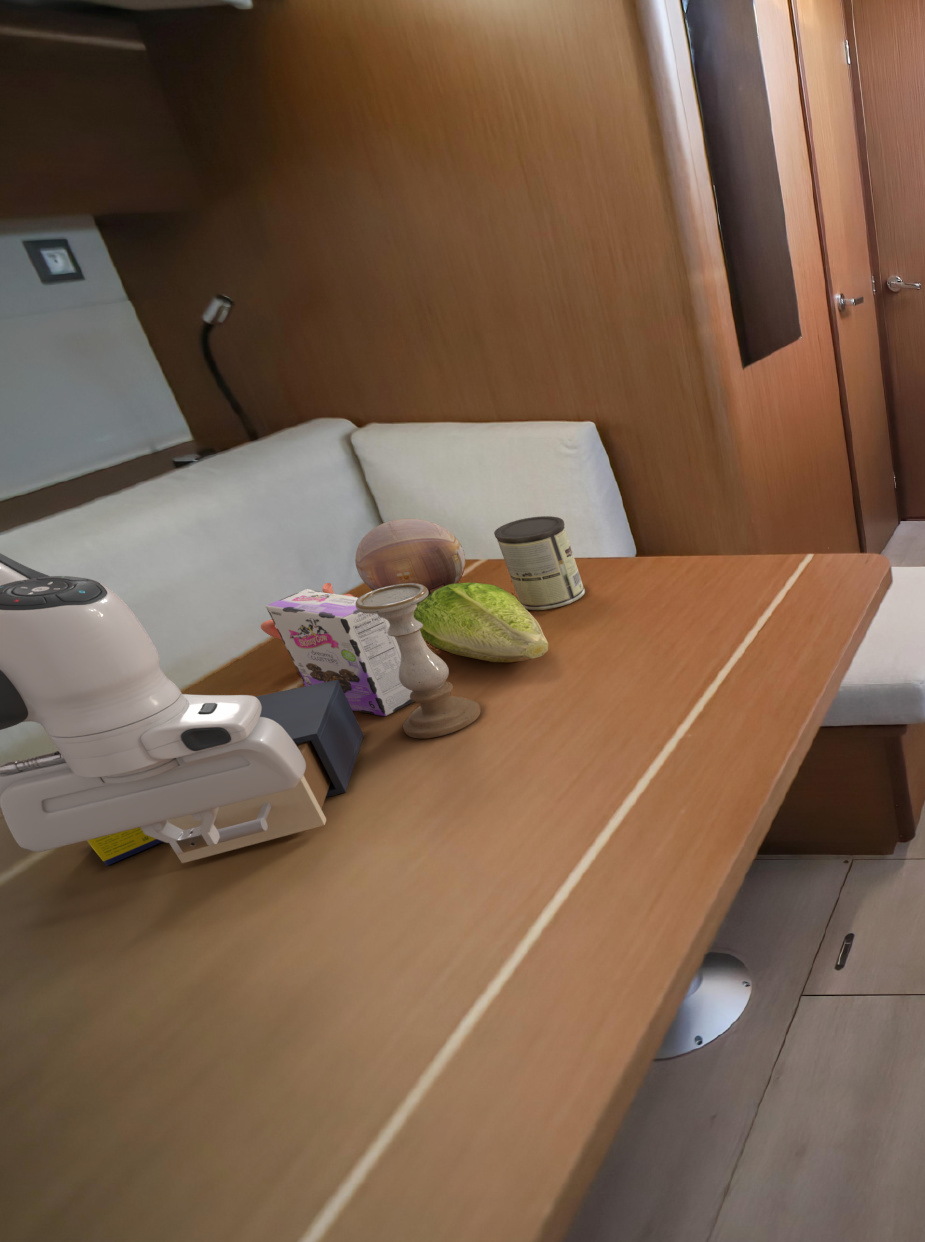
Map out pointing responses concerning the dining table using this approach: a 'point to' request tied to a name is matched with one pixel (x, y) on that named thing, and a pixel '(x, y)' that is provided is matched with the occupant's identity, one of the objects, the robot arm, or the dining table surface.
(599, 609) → the dining table surface
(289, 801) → the drawer
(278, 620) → the candy box
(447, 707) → the candle holder
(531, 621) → the lettuce
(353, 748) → the cabinet
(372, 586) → the ornament
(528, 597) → the coffee can
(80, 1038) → the dining table surface
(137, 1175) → the dining table surface
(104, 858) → the supplement box
